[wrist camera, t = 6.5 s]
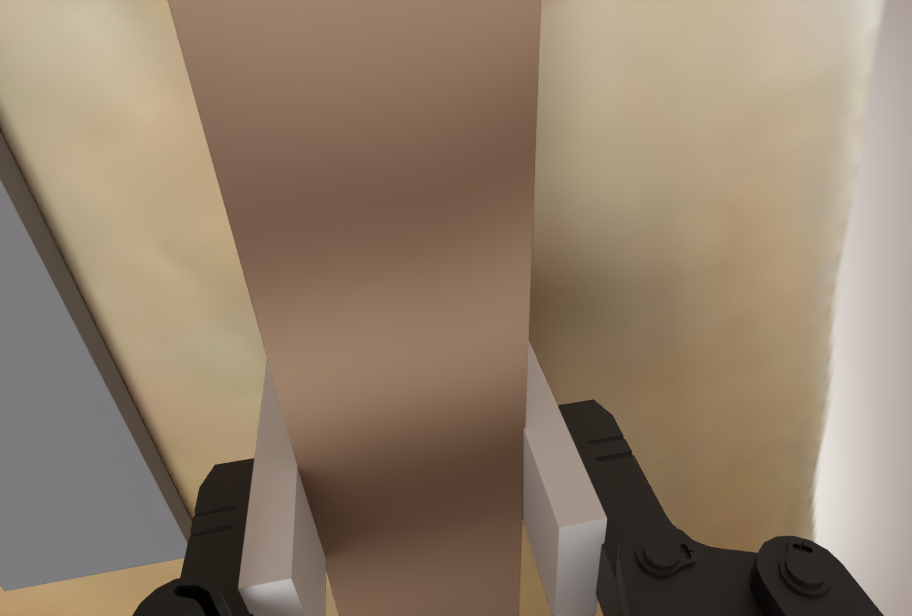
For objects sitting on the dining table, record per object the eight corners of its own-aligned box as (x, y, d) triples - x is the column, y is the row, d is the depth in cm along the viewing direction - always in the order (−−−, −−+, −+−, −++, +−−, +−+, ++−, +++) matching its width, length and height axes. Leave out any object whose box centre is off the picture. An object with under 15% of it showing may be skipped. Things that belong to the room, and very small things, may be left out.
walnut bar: (479, 552, 22) (515, 709, 18) (364, 573, 21) (373, 739, 17) (459, -177, 10) (548, -211, 6) (203, -167, 10) (112, -197, 6)
